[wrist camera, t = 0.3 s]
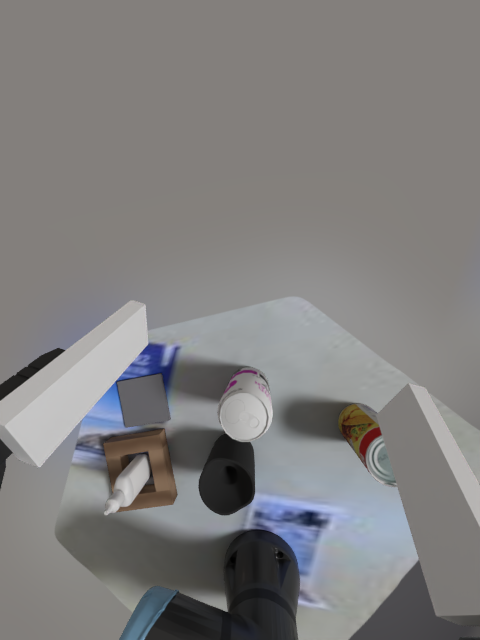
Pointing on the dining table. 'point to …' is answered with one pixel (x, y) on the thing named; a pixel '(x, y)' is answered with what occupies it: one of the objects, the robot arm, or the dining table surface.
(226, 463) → the pen holder
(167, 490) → the bottle holder
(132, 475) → the eye dropper bottle
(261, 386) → the supplement can
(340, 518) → the dining table surface
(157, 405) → the rubber mat
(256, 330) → the dining table surface
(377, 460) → the canned food
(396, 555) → the dining table surface
